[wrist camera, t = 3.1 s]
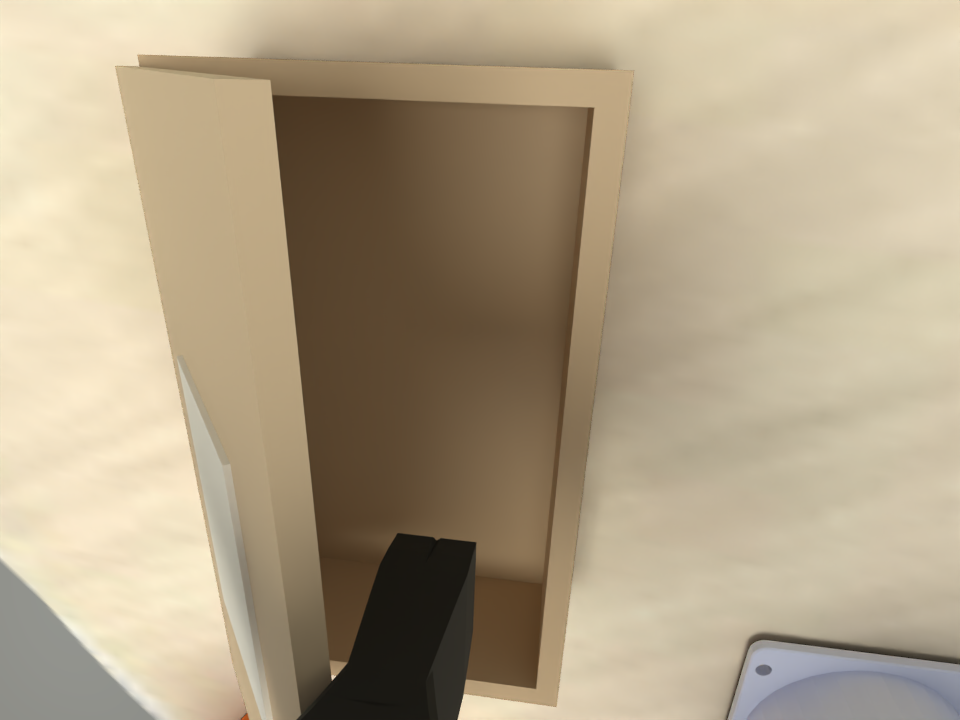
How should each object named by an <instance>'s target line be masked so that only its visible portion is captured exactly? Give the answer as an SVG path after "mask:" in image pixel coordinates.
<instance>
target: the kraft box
mask: <svg viewBox="0 0 960 720" xmlns="http://www.w3.org/2000/svg"><path fill="white" fill-rule="evenodd" d="M138 60H139V66H140V67H148V68H158V69H168V70H177V71H187V72H197V73H206V74H216V75H226V76H235V77H245V78H255V79H264V80H270V82H271V92H272V102H273V112H274V121H275V131H276V141H277V151H278V160H279V170H280V180H281V190H282V199H283V209H284V219H285V229H286V239H287V248H288V258H289V268H290V278H291V287H292V297H293V307H294V317H295V327H296V336H297V346H298V356H299V366H300V375H301V385H302V395H303V405H304V415H305V424H306V434H307V444H308V454H309V463H310V473H311V483H312V493H313V503H314V512H315V522H316V532H317V542H318V551H319V561H320V571H321V581H322V591H323V600H324V610H325V620H326V630H327V639H328V649H329V659H330V669H331V675H336V676H337V675H338V674H339V672H340V671H341V670H342V669H343V668H344V667H345V665H346V664H347V663H348V661H349V658H350V655H351V652H352V648H353V645H354V642H355V639H356V636H357V633H358V630H359V627H360V624H361V620H362V617H363V614H364V611H365V608H366V605H367V602H368V599H369V596H370V592H371V589H372V586H373V583H374V580H375V577H376V574H377V571H378V568H379V565H380V563H381V561H382V559H383V557H384V555H385V554H386V552H387V550H388V548H389V546H390V545H391V543H392V541H393V540H394V538H395V537H396V535H397V533H403V534H411V535H420V536H428V537H434V538H435V539H436V540H438V539H440V538H445V539H453V540H462V541H470V542H477V544H476V569H475V594H474V619H473V635H472V642H471V649H470V655H469V662H468V669H467V675H466V682H465V688H464V694H469V695H476V696H483V697H490V698H497V699H504V700H511V701H518V702H525V703H532V704H539V705H546V706H553V707H556V706H557V698H558V690H559V682H560V674H561V666H562V657H563V649H564V641H565V633H566V625H567V617H568V608H569V600H570V592H571V584H572V576H573V567H574V559H575V551H576V543H577V535H578V527H579V518H580V510H581V502H582V494H583V486H584V477H585V469H586V461H587V453H588V445H589V437H590V428H591V420H592V412H593V404H594V396H595V388H596V379H597V371H598V363H599V355H600V347H601V338H602V330H603V322H604V314H605V306H606V298H607V289H608V281H609V273H610V265H611V257H612V248H613V240H614V232H615V224H616V216H617V208H618V199H619V191H620V183H621V175H622V167H623V159H624V150H625V142H626V134H627V126H628V118H629V109H630V101H631V93H632V85H633V77H634V71H631V70H600V69H569V68H537V67H506V66H475V65H444V64H413V63H382V62H351V61H320V60H289V59H258V58H227V57H196V56H165V55H138Z"/></svg>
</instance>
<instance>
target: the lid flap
mask: <svg viewBox="0 0 960 720" xmlns="http://www.w3.org/2000/svg"><path fill="white" fill-rule="evenodd" d="M115 68H116V73H117V78H118V83H119V88H120V93H121V98H122V103H123V108H124V113H125V119H126V124H127V129H128V134H129V139H130V144H131V149H132V154H133V159H134V164H135V169H136V174H137V180H138V185H139V190H140V195H141V200H142V205H143V210H144V215H145V220H146V225H147V230H148V236H149V241H150V246H151V251H152V256H153V261H154V266H155V271H156V276H157V281H158V286H159V291H160V297H161V302H162V307H163V312H164V317H165V322H166V327H167V332H168V337H169V342H170V347H171V353H172V358H173V363H174V368H175V373H176V378H177V383H178V388H179V393H180V398H181V403H182V408H183V414H184V419H185V424H186V429H187V434H188V439H189V444H190V449H191V454H192V459H193V464H194V470H195V475H196V480H197V485H198V490H199V495H200V500H201V505H202V510H203V515H204V520H205V525H206V531H207V536H208V541H209V546H210V551H211V556H212V561H213V566H214V571H215V576H216V581H217V586H218V592H219V597H220V602H221V607H222V612H223V617H224V622H225V627H226V632H227V637H228V642H229V648H230V653H231V658H232V663H233V667H234V670H235V673H236V677H237V680H238V683H239V687H240V690H241V693H242V697H243V700H244V703H245V707H246V710H247V713H248V717H249V720H296V719H297V718H298V717H299V716H300V715H301V714H302V713H303V712H304V711H305V710H306V709H307V708H308V707H309V706H310V705H311V704H312V703H313V702H314V701H315V699H316V698H317V697H318V696H319V695H320V694H321V693H322V692H323V691H324V690H325V689H326V687H327V686H328V685H329V684H330V683H331V682H332V678H331V669H330V659H329V649H328V639H327V630H326V620H325V610H324V600H323V591H322V581H321V571H320V561H319V551H318V542H317V532H316V522H315V512H314V503H313V493H312V483H311V473H310V463H309V454H308V444H307V434H306V424H305V415H304V405H303V395H302V385H301V375H300V366H299V356H298V346H297V336H296V327H295V317H294V307H293V297H292V287H291V278H290V268H289V258H288V248H287V239H286V229H285V219H284V209H283V199H282V190H281V180H280V170H279V160H278V151H277V141H276V131H275V121H274V112H273V102H272V92H271V82H270V80H264V79H255V78H245V77H235V76H226V75H216V74H206V73H197V72H187V71H177V70H168V69H158V68H148V67H136V66H115Z"/></svg>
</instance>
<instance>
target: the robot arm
mask: <svg viewBox="0 0 960 720" xmlns="http://www.w3.org/2000/svg"><path fill="white" fill-rule="evenodd" d="M476 544H477V542H470V541H462V540H453V539H445V538H440V539H438V540H436V539H435V538H434V537H428V536H420V535H411V534H403V533H397V535H396V537H395V538H394V540H393V541H392V543H391V545H390V546H389V548H388V550H387V552H386V554H385V555H384V557H383V559H382V561H381V563H380V565H379V568H378V571H377V574H376V577H375V580H374V583H373V586H372V589H371V592H370V596H369V599H368V602H367V605H366V608H365V611H364V614H363V617H362V620H361V624H360V627H359V630H358V633H357V636H356V639H355V642H354V645H353V648H352V652H351V655H350V658H349V661H348V663H347V664H346V665H345V667H344V668H343V669H342V670H341V671H340V672H339V674H338V675H337V676H336V677H335V678H334V680H333V681H332V682H331V683H330V684H329V685H328V686H327V687H326V689H325V690H324V691H323V692H322V693H321V694H320V695H319V696H318V697H317V698H316V699H315V701H314V702H313V703H312V704H311V705H310V706H309V707H308V708H307V709H306V710H305V711H304V712H303V713H302V714H301V715H300V716H299V717H298V718H297V719H296V720H457V719H458V715H459V711H460V707H461V703H462V699H463V694H464V688H465V682H466V675H467V669H468V662H469V655H470V649H471V642H472V635H473V619H474V594H475V569H476ZM759 665H761V666H759ZM728 720H960V665H959V664H951V663H944V662H936V661H928V660H920V659H912V658H904V657H896V656H888V655H880V654H872V653H865V652H857V651H849V650H841V649H833V648H825V647H817V646H809V645H801V644H793V643H786V642H778V641H770V640H760V641H756V642H755V643H753V644H752V645H751V646H750V648H749V649H748V653H747V656H746V659H745V663H744V666H743V670H742V673H741V676H740V680H739V683H738V686H737V690H736V693H735V696H734V700H733V703H732V706H731V710H730V713H729V716H728Z"/></svg>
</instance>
